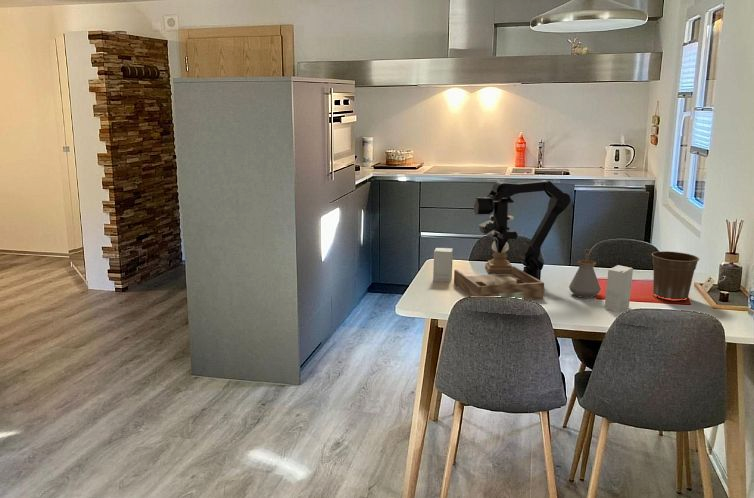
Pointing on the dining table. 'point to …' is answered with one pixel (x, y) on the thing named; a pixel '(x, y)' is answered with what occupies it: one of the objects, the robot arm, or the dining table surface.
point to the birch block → (504, 280)
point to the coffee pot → (585, 279)
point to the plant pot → (673, 274)
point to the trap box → (486, 285)
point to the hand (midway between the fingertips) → (499, 252)
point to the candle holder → (499, 260)
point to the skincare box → (618, 288)
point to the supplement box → (443, 264)
